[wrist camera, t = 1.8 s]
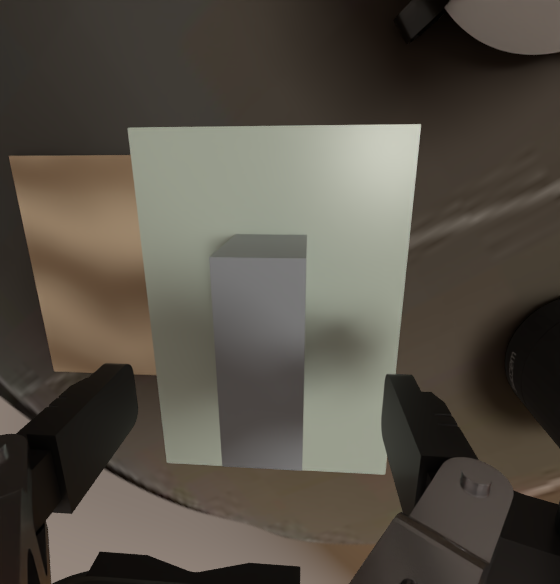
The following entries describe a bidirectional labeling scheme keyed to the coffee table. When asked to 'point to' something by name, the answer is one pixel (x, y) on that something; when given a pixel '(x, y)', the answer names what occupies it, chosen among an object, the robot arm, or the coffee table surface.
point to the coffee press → (490, 22)
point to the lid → (275, 288)
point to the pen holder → (538, 366)
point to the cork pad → (86, 259)
